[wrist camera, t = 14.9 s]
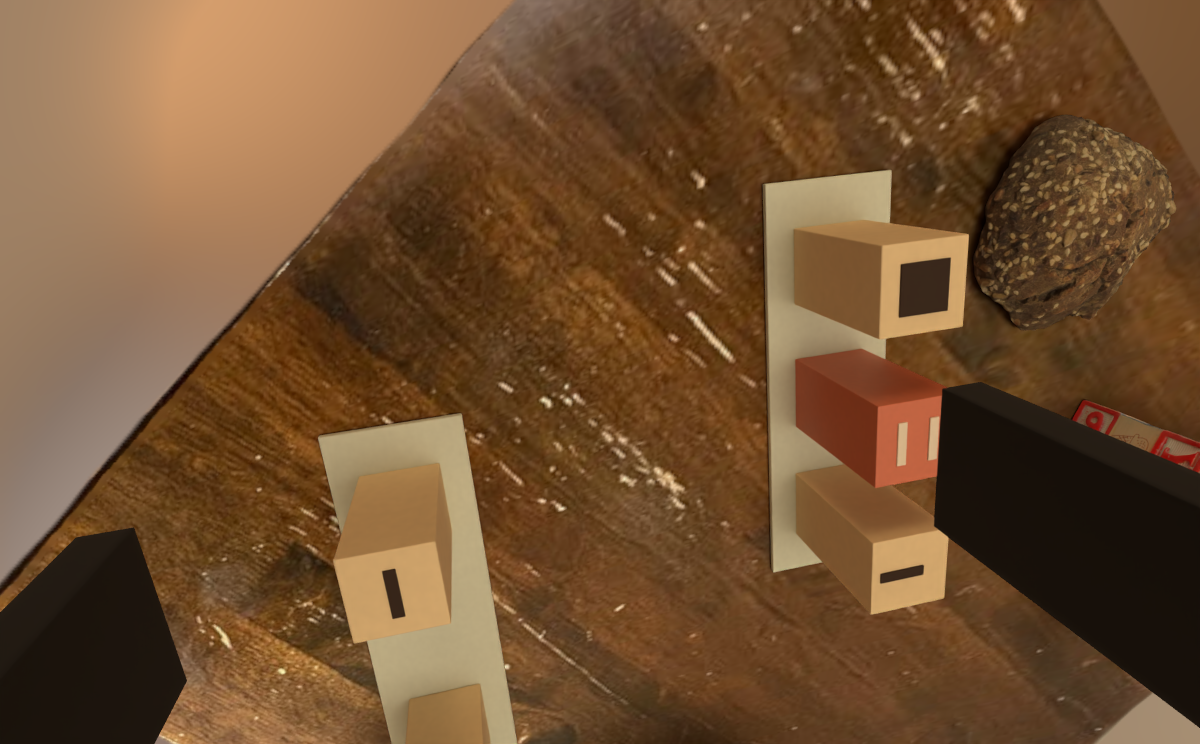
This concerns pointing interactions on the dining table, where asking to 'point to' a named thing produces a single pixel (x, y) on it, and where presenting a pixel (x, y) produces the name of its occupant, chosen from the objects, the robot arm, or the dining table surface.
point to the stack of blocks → (1140, 434)
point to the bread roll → (1069, 221)
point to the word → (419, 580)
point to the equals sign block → (870, 415)
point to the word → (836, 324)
